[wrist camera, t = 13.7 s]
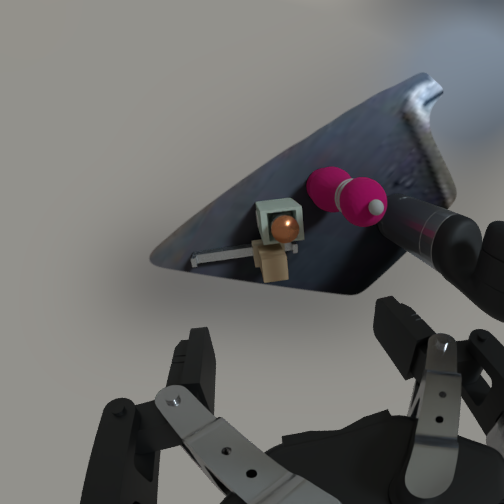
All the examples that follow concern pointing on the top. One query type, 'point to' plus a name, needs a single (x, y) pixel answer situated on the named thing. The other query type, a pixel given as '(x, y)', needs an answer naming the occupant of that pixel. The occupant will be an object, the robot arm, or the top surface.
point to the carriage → (270, 260)
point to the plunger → (283, 227)
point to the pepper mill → (347, 195)
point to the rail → (231, 253)
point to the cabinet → (277, 205)
